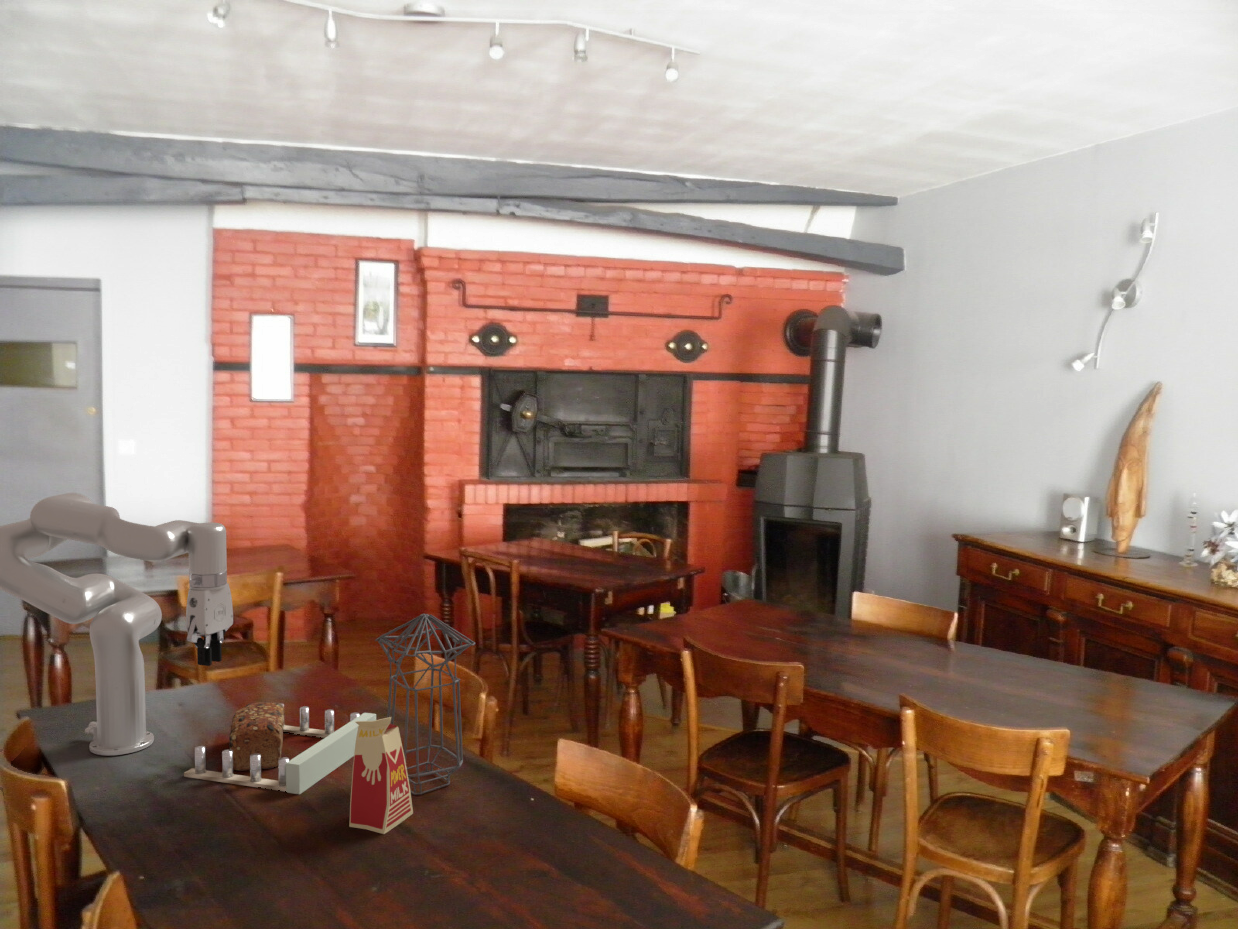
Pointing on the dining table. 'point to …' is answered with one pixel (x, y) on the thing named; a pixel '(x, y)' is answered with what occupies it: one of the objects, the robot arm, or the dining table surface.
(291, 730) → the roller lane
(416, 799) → the dining table surface
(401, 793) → the milk carton
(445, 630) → the geometric lantern
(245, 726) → the bread
